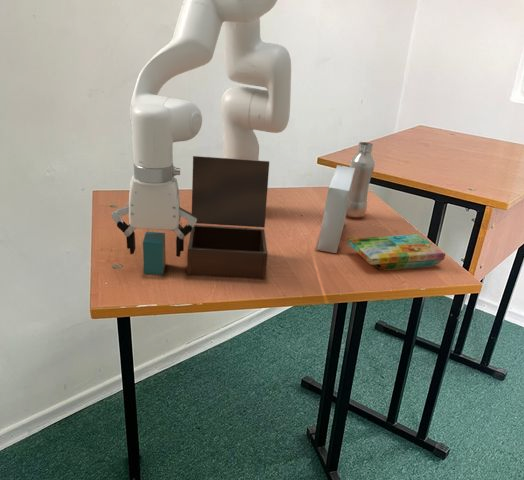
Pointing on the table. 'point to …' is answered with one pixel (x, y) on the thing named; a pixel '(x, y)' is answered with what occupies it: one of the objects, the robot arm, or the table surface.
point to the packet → (154, 253)
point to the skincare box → (336, 209)
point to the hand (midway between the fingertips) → (155, 252)
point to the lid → (229, 191)
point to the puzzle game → (397, 251)
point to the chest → (227, 252)
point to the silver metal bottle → (360, 179)
